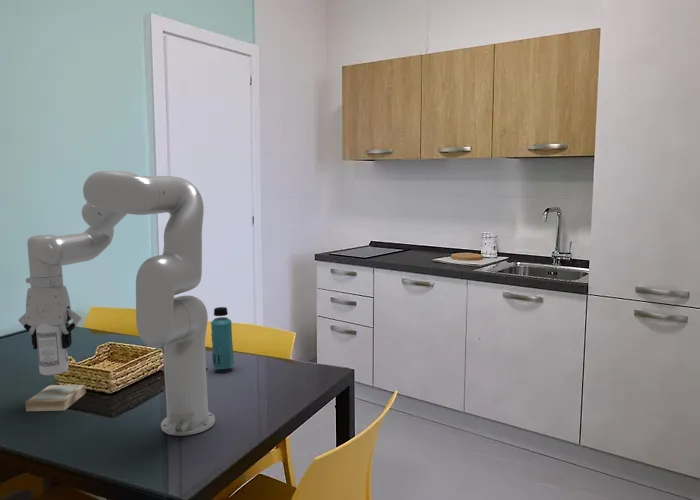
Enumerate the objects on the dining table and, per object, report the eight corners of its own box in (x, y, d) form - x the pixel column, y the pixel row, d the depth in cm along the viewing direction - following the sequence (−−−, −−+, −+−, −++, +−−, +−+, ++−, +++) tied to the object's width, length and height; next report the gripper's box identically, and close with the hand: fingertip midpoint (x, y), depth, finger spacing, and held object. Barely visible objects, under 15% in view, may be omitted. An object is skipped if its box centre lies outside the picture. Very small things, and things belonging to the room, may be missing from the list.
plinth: (64, 410, 146) (63, 400, 146) (26, 411, 146) (25, 401, 146) (85, 393, 158) (85, 384, 158) (50, 393, 158) (49, 384, 158)
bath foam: (56, 365, 156) (50, 295, 153) (74, 369, 153) (68, 296, 150) (33, 373, 149) (27, 300, 147) (51, 377, 147) (45, 302, 144)
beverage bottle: (236, 367, 178) (234, 305, 176) (230, 374, 172) (227, 310, 169) (216, 366, 179) (214, 305, 176) (209, 374, 172) (206, 310, 170)
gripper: (5, 285, 144) (11, 352, 147) (73, 284, 144) (78, 351, 147) (22, 280, 152) (27, 344, 154) (86, 279, 152) (91, 343, 154)
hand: (52, 347), depth 150 cm, fingers closed on bath foam, 7 cm apart
